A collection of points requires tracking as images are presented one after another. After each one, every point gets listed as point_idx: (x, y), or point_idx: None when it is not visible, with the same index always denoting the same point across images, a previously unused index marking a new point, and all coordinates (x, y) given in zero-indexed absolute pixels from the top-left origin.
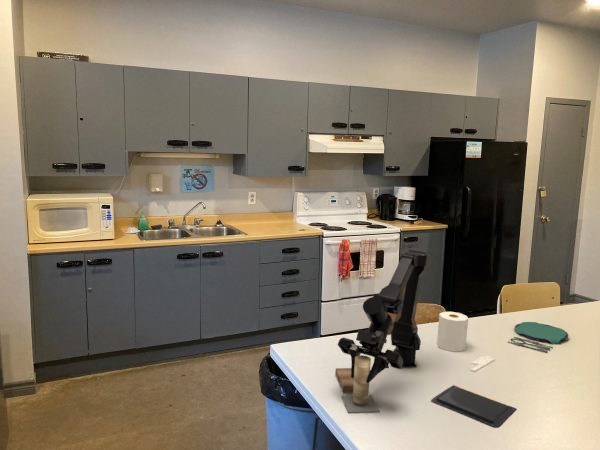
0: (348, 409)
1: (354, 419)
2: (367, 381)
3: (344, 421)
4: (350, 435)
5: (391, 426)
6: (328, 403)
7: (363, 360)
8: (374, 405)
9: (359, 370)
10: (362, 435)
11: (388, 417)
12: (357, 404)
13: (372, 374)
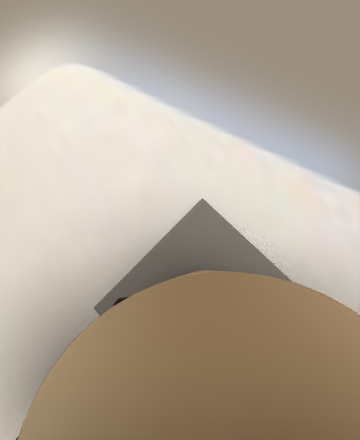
0: (213, 217)
1: (155, 179)
2: (119, 297)
3: (178, 139)
4: (109, 80)
5: (10, 238)
6: (322, 210)
7: (154, 399)
8: None
9: (195, 272)
10: (75, 109)
11: (48, 294)
12: None
13: None
